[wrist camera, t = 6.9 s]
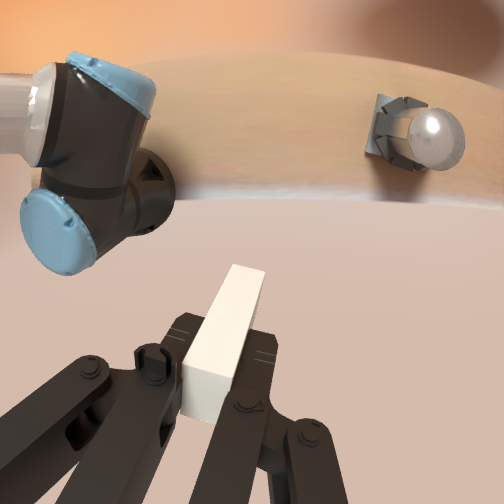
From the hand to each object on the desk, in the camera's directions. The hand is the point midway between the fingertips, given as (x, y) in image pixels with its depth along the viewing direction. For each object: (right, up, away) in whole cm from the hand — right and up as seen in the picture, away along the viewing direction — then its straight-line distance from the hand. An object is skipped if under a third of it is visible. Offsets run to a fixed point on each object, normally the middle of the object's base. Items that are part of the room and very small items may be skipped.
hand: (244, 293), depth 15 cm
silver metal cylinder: (+22, +18, +21) cm, 35 cm away
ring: (+22, +19, +23) cm, 37 cm away
